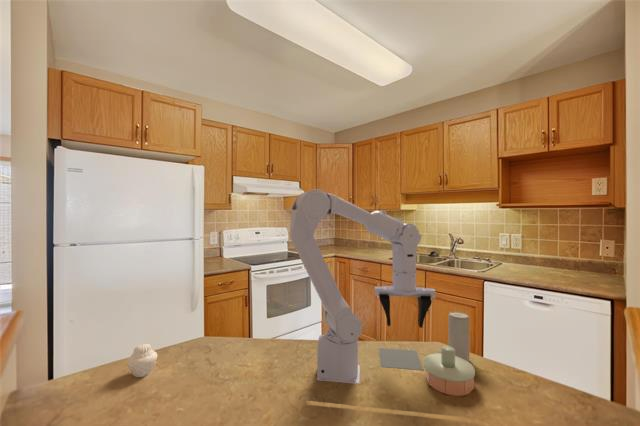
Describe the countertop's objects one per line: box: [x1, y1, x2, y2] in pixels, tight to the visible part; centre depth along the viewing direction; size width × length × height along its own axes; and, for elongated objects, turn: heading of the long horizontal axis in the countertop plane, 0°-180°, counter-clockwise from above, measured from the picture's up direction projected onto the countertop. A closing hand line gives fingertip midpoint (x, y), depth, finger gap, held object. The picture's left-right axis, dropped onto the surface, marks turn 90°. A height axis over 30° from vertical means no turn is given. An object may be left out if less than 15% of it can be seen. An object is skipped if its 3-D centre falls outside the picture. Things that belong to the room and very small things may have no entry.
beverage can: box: [447, 311, 470, 363], centre depth 74 cm, size 5×5×12 cm
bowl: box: [425, 369, 475, 397], centre depth 63 cm, size 9×9×4 cm
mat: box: [378, 347, 424, 371], centre depth 74 cm, size 10×10×1 cm
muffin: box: [126, 343, 158, 378], centre depth 68 cm, size 6×6×7 cm
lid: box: [422, 345, 476, 382], centre depth 64 cm, size 10×10×4 cm
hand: (404, 325), depth 72 cm, fingers open, 7 cm apart
